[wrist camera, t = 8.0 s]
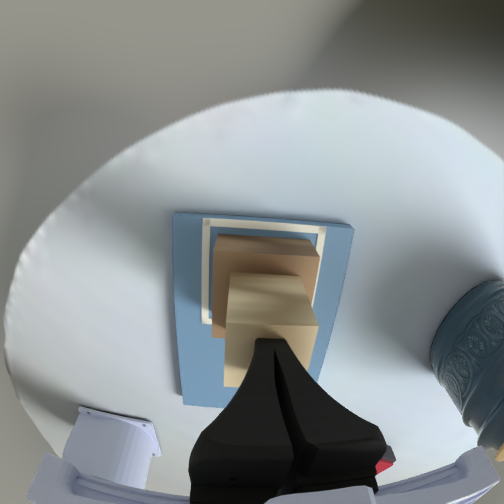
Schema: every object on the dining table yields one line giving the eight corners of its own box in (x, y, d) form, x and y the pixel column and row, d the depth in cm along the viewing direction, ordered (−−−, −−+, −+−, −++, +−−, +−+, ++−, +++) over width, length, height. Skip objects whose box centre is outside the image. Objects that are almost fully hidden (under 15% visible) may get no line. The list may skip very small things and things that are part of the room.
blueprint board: (184, 397, 26) (183, 405, 25) (175, 212, 20) (172, 216, 19) (307, 401, 27) (308, 409, 26) (349, 224, 20) (354, 229, 19)
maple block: (227, 329, 19) (223, 386, 14) (230, 272, 17) (225, 322, 12) (290, 332, 19) (303, 388, 14) (300, 276, 17) (318, 326, 13)
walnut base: (215, 312, 22) (211, 337, 19) (218, 233, 19) (213, 250, 17) (297, 316, 22) (303, 341, 19) (309, 239, 20) (320, 257, 17)
